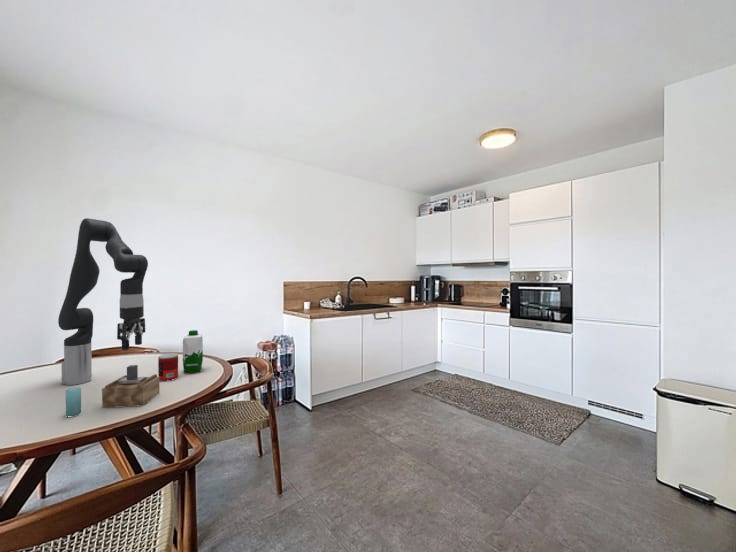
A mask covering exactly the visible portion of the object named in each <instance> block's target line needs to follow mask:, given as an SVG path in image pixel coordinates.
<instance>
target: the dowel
mask: <svg viewBox="0 0 736 552" xmlns="http://www.w3.org/2000/svg"><path fill="white" fill-rule="evenodd" d="M80 413H81V414H82V387H81V386H80V387H79V386H74V387H70V388H67V389H65V417H66V416H67V417H66V418H69V417H68V416H74V417H76V416H75V415H77V416H80V415H81V414H80ZM79 414H80V415H79Z"/></svg>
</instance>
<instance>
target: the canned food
mask: <svg viewBox="0 0 736 552" xmlns="http://www.w3.org/2000/svg"><path fill="white" fill-rule="evenodd" d="M157 359H158V360H157V361H158V366H157V367H158V371H157V372H158V375H157V377H159V382H168V381H167V380H170V381H173V380H172V379H174V380H176V379H177V378H178V377H179V354H178V353H176V352H175V353H173V352H172V353H164V354H161V355H158V357H157ZM175 378H176V379H175Z"/></svg>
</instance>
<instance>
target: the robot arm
mask: <svg viewBox="0 0 736 552" xmlns="http://www.w3.org/2000/svg"><path fill="white" fill-rule="evenodd" d="M78 228H79V229H78V234H77V237H78V238H77V242H76V250H75V257H74V260H73V263H72V266H71V271H70V275H69V281H68V286H67V290H66V294H65V297H64V299H63V302H62V306H61V309H60V311H59V315H58V319H57V324H58V326H59V328H60V329H61V330H63V331H74V330H77V331H76V332H75V333H74V334H72V335H70V336H67V337H66V338H64V341H63V359H64V360H63V361H62V362H61V385H66V386H75V385H81V384H84V383H88V382H90V381H92V380H93V379H92V376H93V375H92V371H93V370H92V369H93V368H92V367H93V366H92V365H93V363H92V359H93V358H92V339H93V333H94V332H93V331H94V313H93V311H92V310H91V308H88V307H80V308H79V307H78V306H79V305H80V302H81V301H82V300H83V299H84V298H85V297H86V296H87V295H89V293H90V292H92V290H93V289H95V287H96V286H97V283H98V281H99V277H100V266H99V265H98V262H97V261H96V259H95V258H94V256H93V255H92V252H91V242H100V243H105V251H106V253H107V255H109V256H110V257H111V259H112V260H113V265H114V266H113V267H114V269H115V270H116V271H117V272H120V273H126V274H127V273H133V275H132V276H131V277H129V278H125V279H122V280H120V283H119V285H120V286H119V287H120V291H119V293H120V296H119V318H120V319H121V320H123V322H119V323H117V327H116V328H117V329H116V340H117V341H118V340H120V341H121V350H122V351H129V349H130V338H131V336H132V335H133V334H134V345H135V346H138V345H139V346H140V345H142V343H143V335H144V333H146V319H145V318H143V317H144V316H145V315H144V305H145V303H144V301H145V300H144V294H143V291H144V288H143V287H144V285H143V284H144V281H145V276H146V273H147V270H148V267H149V262H148V259H147V258H146V256H144V255H143V254H134V252H133V250H132V249H131V247H129V246H128V245H127V244H126V243H125V242H124V241H123V240H122V237H121V235H120V233H119V232H118V230H117V228H116V227H115V225H114V224H113V223H112V222H109V221H106V220H102V219H96V218H88V217H86V218H83V219H82V220H81V223H80V224H79V227H78Z"/></svg>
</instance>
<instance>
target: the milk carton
mask: <svg viewBox="0 0 736 552" xmlns="http://www.w3.org/2000/svg"><path fill="white" fill-rule="evenodd" d="M203 338H204V337H203V334H202V333H199V331H198V330H197V329H196V330H193V329H192V330H189V331H188V334H185V335H184V336H183V338H182V366H183V374H184V375H186V374H185V373H190V374H197V372H199V373H201V372H202V367H203V366H202V365H203V360H204V358H203V357H204V349H203V348H204V344H203V342H204V340H203Z"/></svg>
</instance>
